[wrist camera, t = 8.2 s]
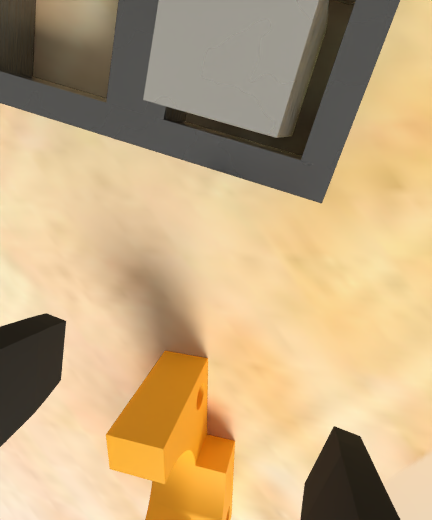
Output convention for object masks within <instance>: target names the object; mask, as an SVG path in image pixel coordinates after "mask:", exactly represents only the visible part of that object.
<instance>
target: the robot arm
mask: <svg viewBox="0 0 432 520" xmlns="http://www.w3.org/2000/svg"><path fill="white" fill-rule="evenodd" d="M65 326H66V321H64V320H62V319H59V318H57V317H54V316H52V315H49V314H47V313H46V314H42V315H38V316H34V317H31V318H27V319H24V320H21V321H17V322H14V323H11V324H8V325H5V326H1V327H0V447H1V446H2V445H3V444H4V443H5V442H6V441H7V440H8V439H9V438H10V437H11V436H12V435H13V434H14V433H15V432H16V431H17V430H18V429H19V428H20V427H21V426H22V425H23V424H24V423H25V422H26V421H27V420H28V419H29V418H30V417H31V416H32V415H33V414H34V413H35V412H36V410H37V409H38V408H39V407H40V406H41V404H42V403H43V402H44V401H45V400H46V398H47V397H48V396H49V395H50V393H51V392H52V391H53V389H54V388H55V387H56V386H57V384H58V383H59V382H60V380H61V372H62V361H63V349H64V338H65ZM301 520H400V518H399V516H398V515H397V512H396V510H395V508H394V506H393V504H392V502H391V500H390V498H389V496H388V494H387V492H386V489H385V487H384V485H383V483H382V481H381V479H380V477H379V475H378V473H377V471H376V468H375V466H374V464H373V462H372V460H371V458H370V456H369V454H368V451H367V449H366V447H365V445H364V443H363V441H362V439H361V437H360V436H358V435H355V434H353V433H350V432H348V431H345V430H343V429H340V428H337V427H335V426H334V427H333V429H332V431H331V433H330V435H329V437H328V439H327V441H326V443H325V445H324V447H323V449H322V451H321V453H320V455H319V457H318V459H317V461H316V463H315V464H314V466H313V468H312V470H311V472H310V474H309V476H308V478H307V480H306V482H305V486H304V495H303V503H302V511H301Z"/></svg>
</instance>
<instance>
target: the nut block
mask: <svg viewBox="0 0 432 520" xmlns="http://www.w3.org/2000/svg"><path fill="white" fill-rule="evenodd" d="M328 7H329V0H159V2H158V8H157V15H156V21H155V27H154V34H153V40H152V47H151V53H150V59H149V66H148V72H147V79H146V85H145V91H144V98H143V100H146V101H149V102H153V103H156V104H160V105H163V106H167V107H170V108H174V109H177V110H181V111H184V112H188V113H191V114H195V115H198V116H202V117H205V118H209V119H212V120H216V121H219V122H223V123H226V124H230V125H233V126H237V127H240V128H244V129H247V130H251V131H254V132H258V133H261V134H265V135H268V136H272V137H275V138H280V137H287V136H292V135H293V132H294V129H295V126H296V122H297V119H298V116H299V113H300V110H301V107H302V104H303V101H304V98H305V94H306V91H307V88H308V85H309V82H310V79H311V76H312V73H313V70H314V67H315V63H316V60H317V57H318V54H319V51H320V48H321V45H322V42H323V39H324V35H325V32H326V29H327V21H328Z"/></svg>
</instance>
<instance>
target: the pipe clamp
mask: <svg viewBox="0 0 432 520" xmlns="http://www.w3.org/2000/svg"><path fill="white" fill-rule="evenodd" d="M207 392H208V358H203V357H198V356H192V355H187V354H181V353H176V352H170V351H164V353H163V354H162V356H161V357H160V359H159V360H158V361H157V363H156V364H155V366H154V367H153V368H152V370H151V371H150V373H149V374H148V376H147V377H146V378H145V380H144V381H143V383H142V384H141V386H140V387H139V388H138V390H137V391H136V393H135V394H134V396H133V397H132V398H131V400H130V401H129V403H128V404H127V405H126V407H125V408H124V410H123V411H122V413H121V414H120V415H119V417H118V418H117V420H116V421H115V423H114V424H113V425H112V427H111V428H110V430H109V431H108V433H107V434H106V440H107V448H108V457H109V466H110V469H112V470H115V471H119V472H123V473H126V474H130V475H134V476H137V477H141V478H144V479H148V480H152V489H151V495H150V501H149V506H148V511H147V515H146V519H145V520H230V519H231V513H232V492H233V470H234V449H235V441H233V440H229V439H225V438H220V437H216V436H212V435H207Z"/></svg>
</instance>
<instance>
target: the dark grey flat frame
mask: <svg viewBox="0 0 432 520" xmlns="http://www.w3.org/2000/svg"><path fill="white" fill-rule="evenodd" d="M333 1H338V2H342V3H347V4H351V5H354V7H353V10H352V13H351V16H350V19H349V22H348V25H347V28H346V30H345V33H344V36H343V39H342V42H341V45H340V48H339V51H338V54H337V57H336V60H335V62H334V65H333V68H332V71H331V74H330V77H329V80H328V83H327V86H326V89H325V91H324V94H323V97H322V100H321V103H320V106H319V109H318V112H317V115H316V118H315V121H314V123H313V126H312V129H311V132H310V135H309V138H308V141H307V144H306V147H305V150H304V152H303V155H302V156H301V155H298V154H294V153H291V152H287V151H284V150H281V149H277V148H274V147H270V146H267V145H264V144H260V143H257V142H253V141H250V140H247V139H243V138H240V137H236V136H233V135H230V134H226V133H223V132H219V131H216V130H213V129H209V128H206V127H202V126H199V125H196V124H192V123H189V122H185V117H186V112H184V111H181V110H177V109H174V108H170V107H167V106H163V105H160V104H156V103H153V102H149V101H146V100H143V98H144V91H145V85H146V79H147V72H148V66H149V59H150V53H151V47H152V40H153V34H154V27H155V21H156V15H157V8H158V2H159V0H119V2H118V10H117V18H116V27H115V35H114V43H113V51H112V59H111V68H110V76H109V84H108V92H107V98H104V97H100V96H97V95H94V94H90V93H87V92H83V91H80V90H77V89H73V88H70V87H66V86H63V85H60V84H56V83H53V82H49V81H46V80H43V79H39V78H36V77H32V74H33V51H34V28H35V5H36V0H0V103H2V104H5V105H8V106H12V107H15V108H18V109H21V110H24V111H28V112H31V113H34V114H37V115H40V116H44V117H47V118H50V119H53V120H56V121H60V122H63V123H66V124H69V125H72V126H76V127H79V128H82V129H85V130H88V131H92V132H95V133H98V134H101V135H105V136H108V137H111V138H114V139H117V140H121V141H124V142H127V143H130V144H133V145H137V146H140V147H143V148H146V149H149V150H153V151H156V152H159V153H162V154H165V155H169V156H172V157H175V158H178V159H181V160H185V161H188V162H191V163H194V164H197V165H201V166H204V167H207V168H210V169H213V170H217V171H220V172H223V173H226V174H229V175H233V176H236V177H239V178H242V179H245V180H249V181H252V182H255V183H258V184H261V185H265V186H268V187H271V188H274V189H277V190H281V191H284V192H287V193H290V194H293V195H297V196H300V197H303V198H306V199H309V200H313V201H316V202H319V203H322V202H323V199H324V196H325V194H326V191H327V189H328V186H329V183H330V181H331V178H332V176H333V173H334V170H335V168H336V165H337V163H338V160H339V157H340V155H341V152H342V150H343V147H344V145H345V142H346V139H347V137H348V134H349V132H350V129H351V126H352V124H353V121H354V119H355V116H356V113H357V111H358V108H359V106H360V103H361V100H362V98H363V95H364V93H365V90H366V87H367V85H368V82H369V80H370V77H371V74H372V72H373V69H374V67H375V64H376V62H377V59H378V56H379V54H380V51H381V49H382V46H383V43H384V41H385V38H386V36H387V33H388V30H389V28H390V25H391V23H392V20H393V17H394V15H395V12H396V10H397V7H398V4H399V2H400V0H333Z"/></svg>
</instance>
